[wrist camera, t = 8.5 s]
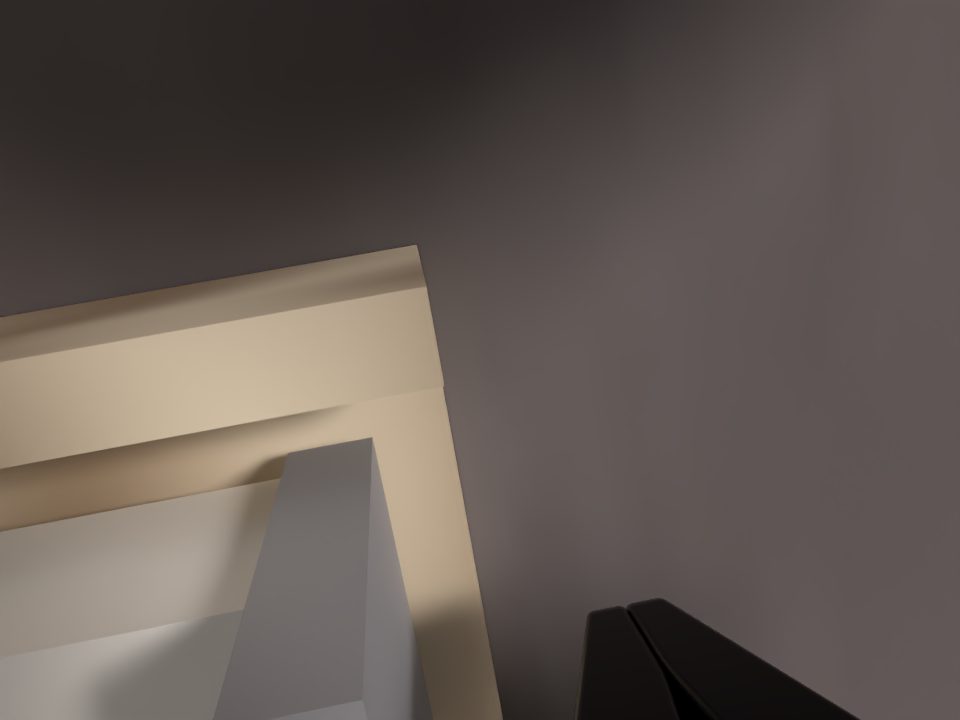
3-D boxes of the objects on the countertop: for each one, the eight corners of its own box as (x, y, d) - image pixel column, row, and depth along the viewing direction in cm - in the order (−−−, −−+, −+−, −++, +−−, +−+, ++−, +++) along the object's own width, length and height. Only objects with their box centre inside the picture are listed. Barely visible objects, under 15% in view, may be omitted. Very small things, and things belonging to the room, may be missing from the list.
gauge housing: (416, 244, 10) (426, 286, 7) (515, 787, 12) (544, 941, 10) (-450, 395, 9) (-731, 492, 7) (-147, 931, 12) (-275, 1130, 9)
